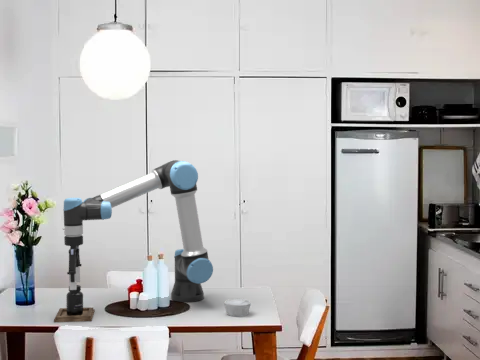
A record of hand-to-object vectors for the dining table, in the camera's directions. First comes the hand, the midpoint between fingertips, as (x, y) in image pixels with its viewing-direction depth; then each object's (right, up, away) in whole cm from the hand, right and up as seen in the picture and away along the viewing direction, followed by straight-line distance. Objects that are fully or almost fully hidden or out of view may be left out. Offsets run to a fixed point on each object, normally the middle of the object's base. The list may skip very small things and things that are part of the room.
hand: (75, 285), depth 300 cm
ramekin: (+68, -13, +7) cm, 69 cm away
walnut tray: (0, -13, +1) cm, 13 cm away
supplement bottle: (0, -12, +1) cm, 12 cm away
